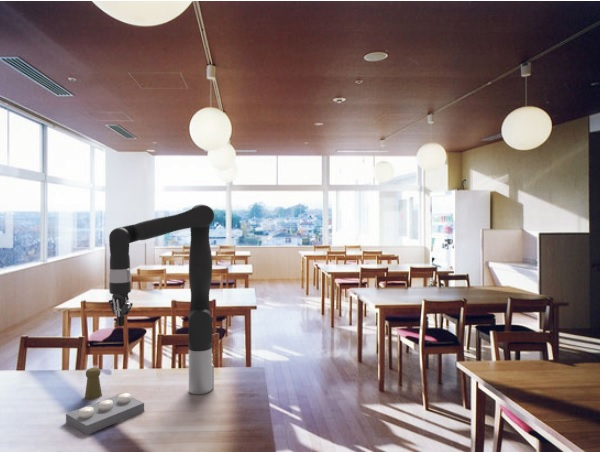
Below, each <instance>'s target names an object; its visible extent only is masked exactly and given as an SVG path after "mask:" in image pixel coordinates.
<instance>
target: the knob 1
mask: <svg viewBox="0 0 600 452" xmlns="http://www.w3.org/2000/svg"><path fill="white" fill-rule="evenodd" d="M84 407H85V408H83V407H81V408H82V409H80V408H79V409H80V410H79V418H82V419H85V418H89V417H92V416H93V415H94V408H93V407H86V406H84Z"/></svg>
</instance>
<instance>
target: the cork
mask: <svg viewBox="0 0 600 452" xmlns="http://www.w3.org/2000/svg"><path fill="white" fill-rule="evenodd" d="M100 375H101V369H100V368H99V367H90V368H87V370H86V371H85V378H86V386H85V392H84V393H85V394H84V399H85V400H88V401H89V400H90V401H92V400H97V399H100V398H101V397H102V396H103V394H102V387H101V380H100Z"/></svg>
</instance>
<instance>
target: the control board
mask: <svg viewBox="0 0 600 452" xmlns="http://www.w3.org/2000/svg"><path fill="white" fill-rule="evenodd" d="M120 394H124V393H123V392H121V393H119V394H117V395H114V396H111V397H108V398H105V399H103V400H99V401H97V402H94V403H92V404H89V405H86V406H82V407H80V408H78V409H75V410H72V411H70V412H67V413H65V424H68V425H70V426H71V427H73V428H75V429H77V430H78V431H80V432H82V433H83V434H84V435H87V436H88V435H90V434H92V433H93V434H94V433H95V432H97V431H99V430H102V429H104V428H107V427H109V426H111V425H113V424H117V423H119V422H121V421H123V420H124V421H125V420H126V419H128V418H130V417H133V416H136V415H138V414H141V413H143V412H145V402H143V401H141V400H138V399H136V398H134V397H132V396H131V401H130V402H128V403H125V404H119V403H118V396H119V395H120ZM104 400H112V401H113V408H112V409H110V410H107V411H100V410H99V403H100V402H101V401H104ZM85 407H93V408H94V415H93V416H92V417H89V418H85V419H82V418H79V410H80V409H82V408H85Z"/></svg>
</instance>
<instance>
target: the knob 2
mask: <svg viewBox="0 0 600 452" xmlns="http://www.w3.org/2000/svg"><path fill="white" fill-rule="evenodd" d="M119 394H120V395H119ZM119 394H118V395H119V396H118V403H119V404H125V403H128V402H130V401H131V397H132V395H131V393H123V394H122V393H119Z"/></svg>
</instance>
